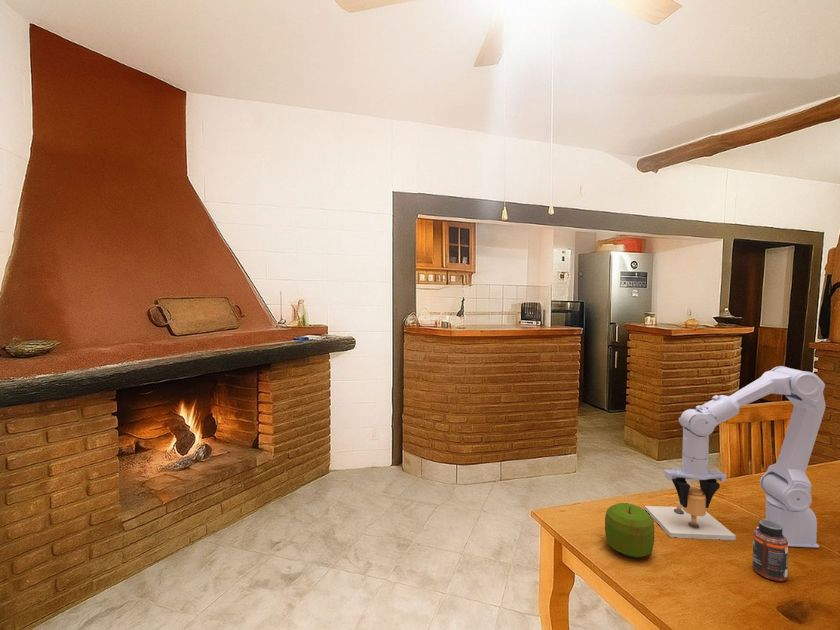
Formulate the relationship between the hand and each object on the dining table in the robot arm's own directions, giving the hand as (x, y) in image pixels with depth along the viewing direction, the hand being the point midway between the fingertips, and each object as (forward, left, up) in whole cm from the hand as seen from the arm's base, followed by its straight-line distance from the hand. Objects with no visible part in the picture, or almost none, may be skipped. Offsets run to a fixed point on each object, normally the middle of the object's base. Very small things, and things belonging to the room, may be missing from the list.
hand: (694, 505), depth 107 cm
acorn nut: (0, 0, -2) cm, 2 cm away
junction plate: (0, -3, -7) cm, 7 cm away
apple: (+21, +10, -7) cm, 24 cm away
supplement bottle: (-7, +17, -7) cm, 19 cm away
